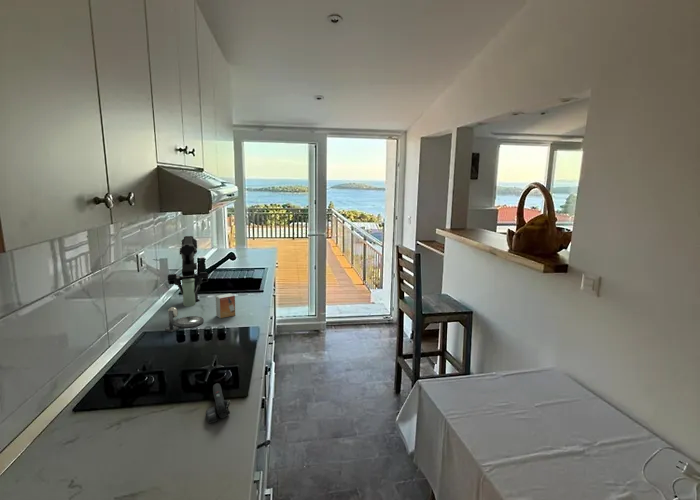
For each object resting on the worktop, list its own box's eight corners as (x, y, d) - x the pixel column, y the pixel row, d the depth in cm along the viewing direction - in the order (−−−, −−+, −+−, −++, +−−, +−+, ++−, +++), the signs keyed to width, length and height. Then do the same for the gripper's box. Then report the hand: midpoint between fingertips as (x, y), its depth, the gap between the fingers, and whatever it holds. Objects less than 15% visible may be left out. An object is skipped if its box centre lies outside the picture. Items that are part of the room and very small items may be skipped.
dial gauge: (172, 332, 170) (170, 310, 168) (164, 330, 172) (162, 308, 170) (179, 329, 174) (178, 307, 172) (171, 327, 176) (170, 306, 174)
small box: (220, 318, 188) (219, 298, 187) (216, 315, 193) (215, 295, 191) (235, 315, 193) (235, 295, 192) (231, 312, 198) (230, 292, 196)
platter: (193, 316, 191) (193, 313, 191) (209, 322, 184) (209, 319, 184) (168, 323, 180) (168, 321, 180) (184, 330, 173) (184, 327, 173)
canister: (191, 302, 195) (189, 277, 192) (198, 304, 192) (197, 279, 189) (180, 305, 190) (179, 279, 188) (187, 307, 187) (186, 281, 184)
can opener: (231, 422, 108) (231, 404, 107) (205, 427, 106) (204, 409, 105) (229, 390, 125) (228, 374, 124) (206, 394, 123) (205, 378, 122)
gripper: (166, 258, 187) (166, 286, 179) (207, 256, 193) (208, 283, 185) (168, 270, 196) (168, 297, 187) (207, 268, 202) (208, 294, 194)
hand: (188, 292), depth 188 cm, fingers closed on canister, 6 cm apart
